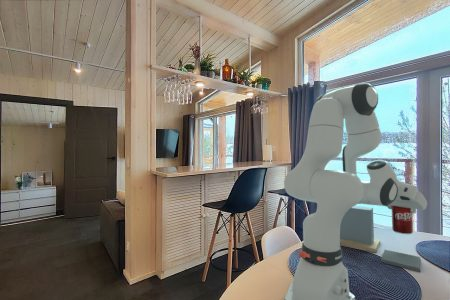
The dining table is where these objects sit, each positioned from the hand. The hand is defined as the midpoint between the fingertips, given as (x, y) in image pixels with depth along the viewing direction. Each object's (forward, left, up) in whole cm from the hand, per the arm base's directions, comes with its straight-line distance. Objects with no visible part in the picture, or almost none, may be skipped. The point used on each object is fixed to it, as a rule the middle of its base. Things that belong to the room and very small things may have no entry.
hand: (402, 210), depth 102 cm
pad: (-12, 0, -18) cm, 22 cm away
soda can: (-1, 0, -10) cm, 10 cm away
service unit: (-2, +18, -18) cm, 26 cm away
